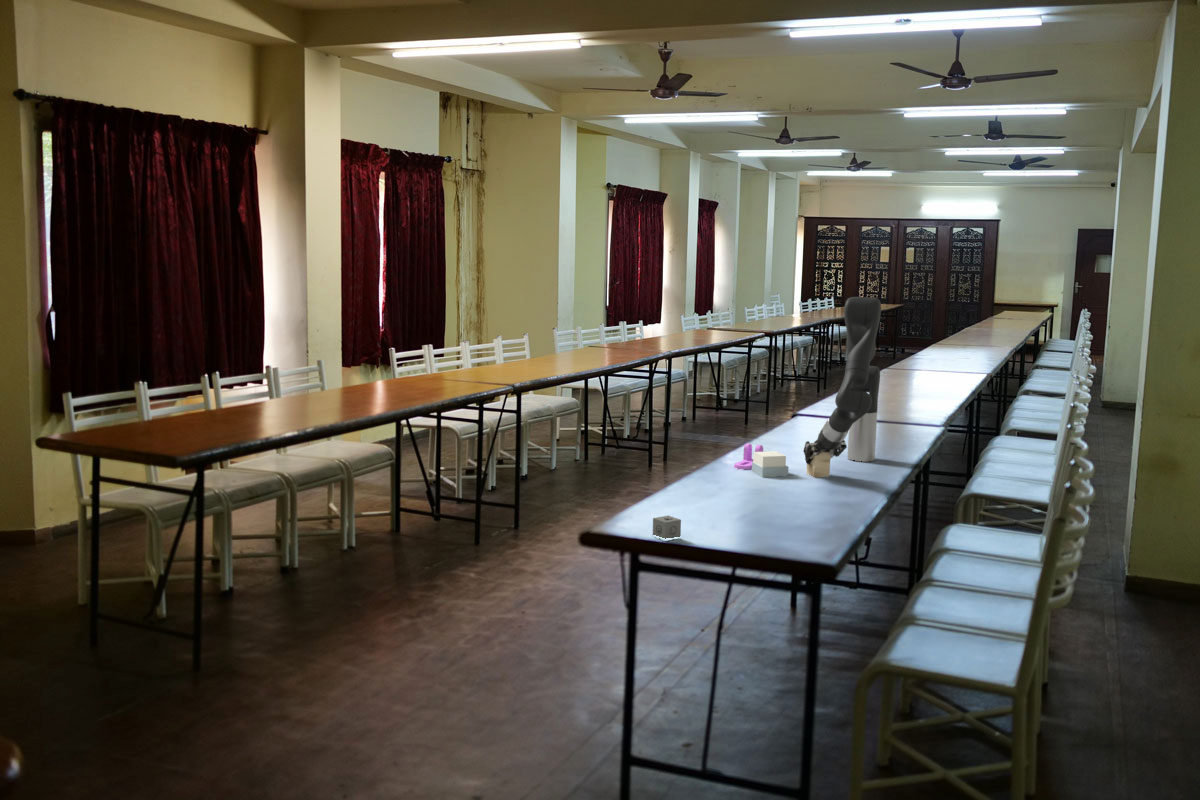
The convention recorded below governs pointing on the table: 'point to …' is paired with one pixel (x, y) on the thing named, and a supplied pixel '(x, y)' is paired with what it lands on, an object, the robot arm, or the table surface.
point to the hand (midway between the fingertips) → (816, 461)
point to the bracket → (747, 457)
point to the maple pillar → (819, 465)
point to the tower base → (769, 471)
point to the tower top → (769, 459)
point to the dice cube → (667, 527)
